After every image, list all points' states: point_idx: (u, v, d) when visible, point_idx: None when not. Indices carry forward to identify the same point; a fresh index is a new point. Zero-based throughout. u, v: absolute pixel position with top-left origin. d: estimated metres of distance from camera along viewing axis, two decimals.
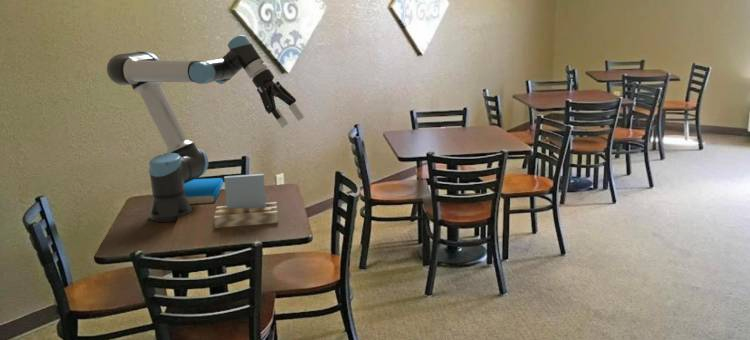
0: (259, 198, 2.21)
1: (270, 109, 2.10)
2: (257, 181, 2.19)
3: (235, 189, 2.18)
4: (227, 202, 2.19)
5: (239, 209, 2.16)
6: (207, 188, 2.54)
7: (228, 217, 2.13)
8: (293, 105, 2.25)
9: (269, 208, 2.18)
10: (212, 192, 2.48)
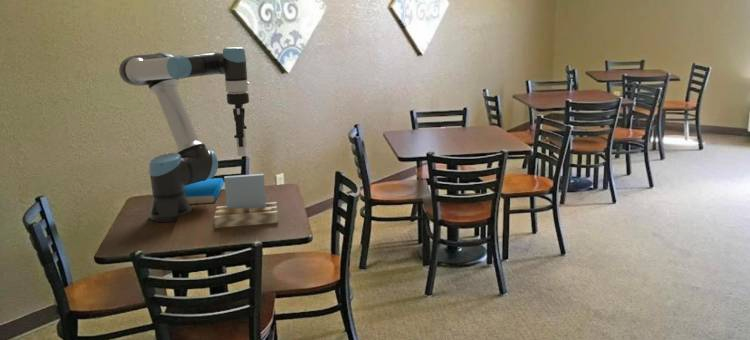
0: (259, 198, 2.21)
1: (241, 136, 2.05)
2: (257, 181, 2.19)
3: (235, 189, 2.18)
4: (227, 202, 2.19)
5: (239, 209, 2.16)
6: (207, 188, 2.54)
7: (228, 217, 2.13)
8: (243, 131, 2.21)
9: (269, 208, 2.18)
10: (212, 192, 2.48)
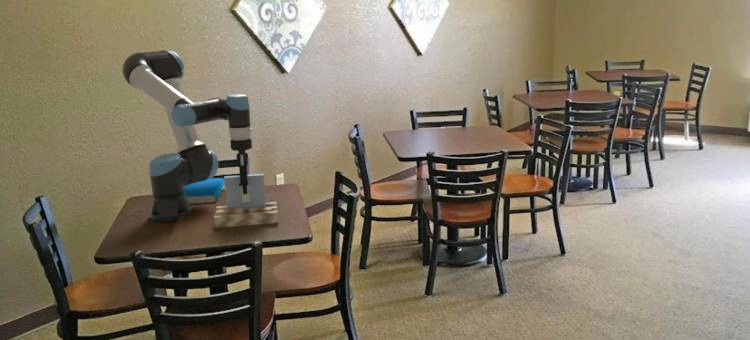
0: (259, 198, 2.21)
1: (245, 184, 2.16)
2: (257, 181, 2.19)
3: (235, 189, 2.18)
4: (227, 202, 2.19)
5: (239, 209, 2.16)
6: (208, 187, 2.54)
7: (228, 217, 2.13)
8: None
9: (269, 208, 2.18)
10: (213, 192, 2.48)
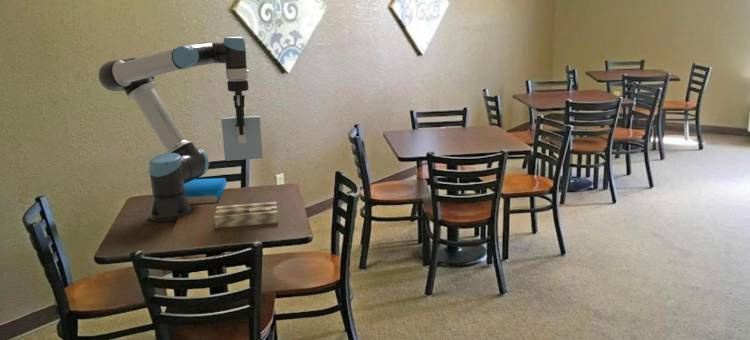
0: (255, 140, 2.27)
1: None
2: (253, 122, 2.25)
3: (232, 130, 2.25)
4: (224, 143, 2.26)
5: (239, 209, 2.16)
6: (210, 187, 2.54)
7: (228, 217, 2.13)
8: None
9: (269, 208, 2.18)
10: (215, 192, 2.48)
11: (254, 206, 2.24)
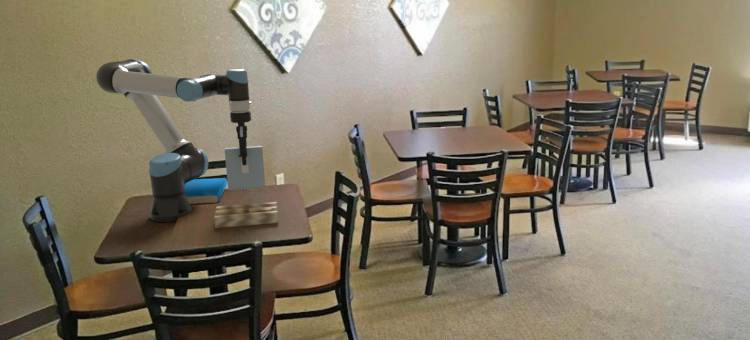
0: (258, 169, 2.31)
1: (244, 155, 2.25)
2: (256, 152, 2.29)
3: (235, 161, 2.28)
4: (227, 173, 2.29)
5: (239, 209, 2.16)
6: (210, 187, 2.54)
7: (228, 217, 2.13)
8: None
9: (269, 208, 2.18)
10: (216, 192, 2.48)
11: (254, 206, 2.24)
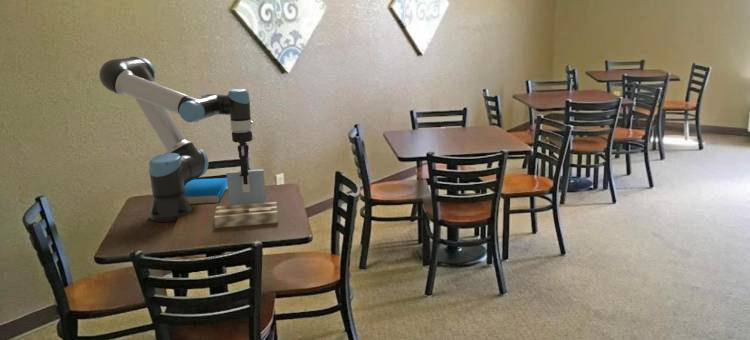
0: (259, 192, 2.33)
1: (245, 175, 2.25)
2: (257, 176, 2.31)
3: (236, 184, 2.31)
4: (229, 196, 2.31)
5: (239, 209, 2.16)
6: (211, 187, 2.54)
7: (228, 217, 2.13)
8: None
9: (269, 208, 2.18)
10: (217, 192, 2.48)
11: (254, 206, 2.24)
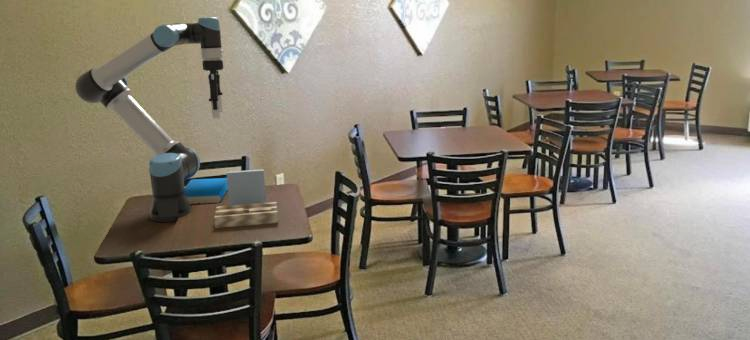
0: (259, 192, 2.33)
1: (215, 99, 2.21)
2: (257, 176, 2.31)
3: (236, 184, 2.31)
4: (229, 196, 2.31)
5: (239, 209, 2.16)
6: (213, 187, 2.54)
7: (228, 217, 2.13)
8: (219, 97, 2.37)
9: (269, 208, 2.18)
10: (218, 192, 2.48)
11: (254, 206, 2.24)
